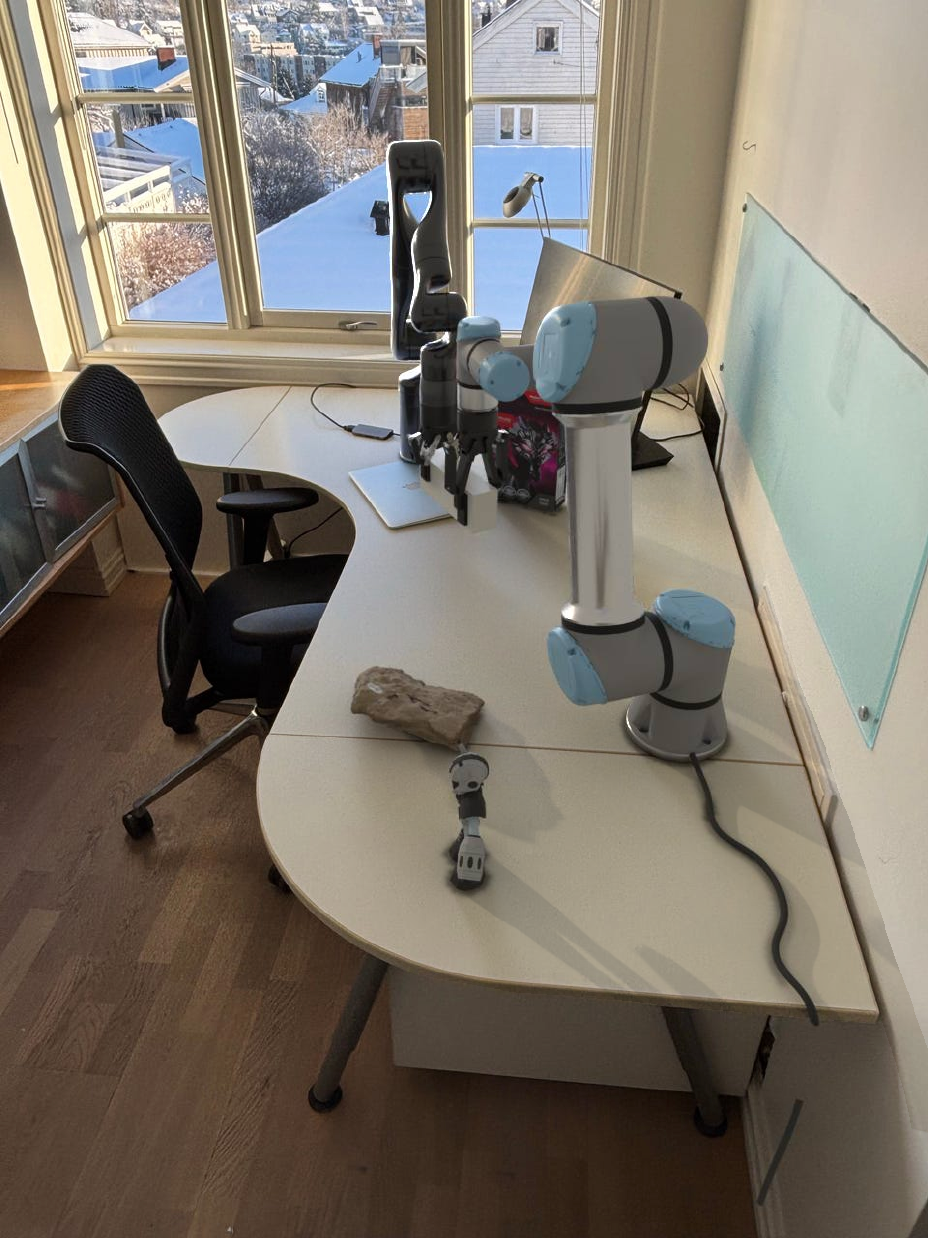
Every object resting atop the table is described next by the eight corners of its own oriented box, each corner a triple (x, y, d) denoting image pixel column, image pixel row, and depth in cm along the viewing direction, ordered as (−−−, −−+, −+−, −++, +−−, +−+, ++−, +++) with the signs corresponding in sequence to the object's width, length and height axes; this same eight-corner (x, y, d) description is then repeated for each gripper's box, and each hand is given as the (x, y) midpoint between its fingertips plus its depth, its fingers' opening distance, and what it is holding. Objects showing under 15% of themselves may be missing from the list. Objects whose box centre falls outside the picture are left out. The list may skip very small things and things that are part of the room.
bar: (496, 527, 179) (497, 489, 175) (472, 533, 177) (473, 495, 172) (442, 483, 195) (442, 447, 190) (419, 488, 193) (419, 452, 188)
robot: (491, 927, 112) (496, 809, 101) (451, 928, 112) (451, 811, 101) (481, 809, 129) (484, 697, 117) (446, 811, 128) (445, 698, 117)
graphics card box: (485, 497, 209) (487, 380, 194) (498, 486, 214) (502, 371, 199) (554, 514, 203) (562, 394, 188) (566, 502, 208) (575, 384, 193)
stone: (324, 722, 139) (331, 687, 137) (361, 683, 152) (368, 651, 150) (454, 769, 135) (464, 735, 133) (480, 725, 149) (489, 694, 147)
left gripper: (461, 386, 185) (460, 463, 195) (397, 398, 179) (399, 477, 189) (480, 398, 180) (478, 477, 189) (414, 411, 174) (416, 492, 183)
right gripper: (509, 390, 174) (505, 501, 187) (423, 407, 166) (425, 522, 179) (531, 403, 168) (525, 516, 181) (443, 421, 161) (443, 538, 174)
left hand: (439, 477), depth 189 cm, fingers closed on bar, 5 cm apart
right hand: (475, 519), depth 180 cm, fingers closed on bar, 5 cm apart
